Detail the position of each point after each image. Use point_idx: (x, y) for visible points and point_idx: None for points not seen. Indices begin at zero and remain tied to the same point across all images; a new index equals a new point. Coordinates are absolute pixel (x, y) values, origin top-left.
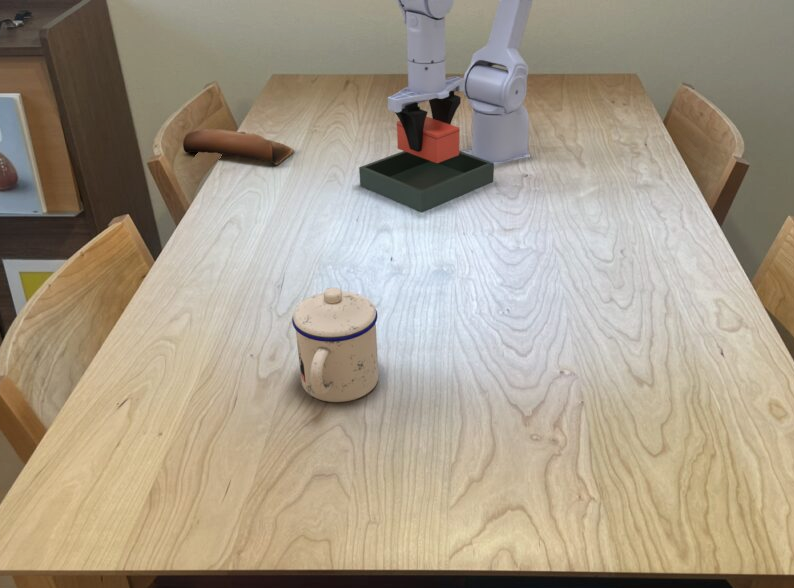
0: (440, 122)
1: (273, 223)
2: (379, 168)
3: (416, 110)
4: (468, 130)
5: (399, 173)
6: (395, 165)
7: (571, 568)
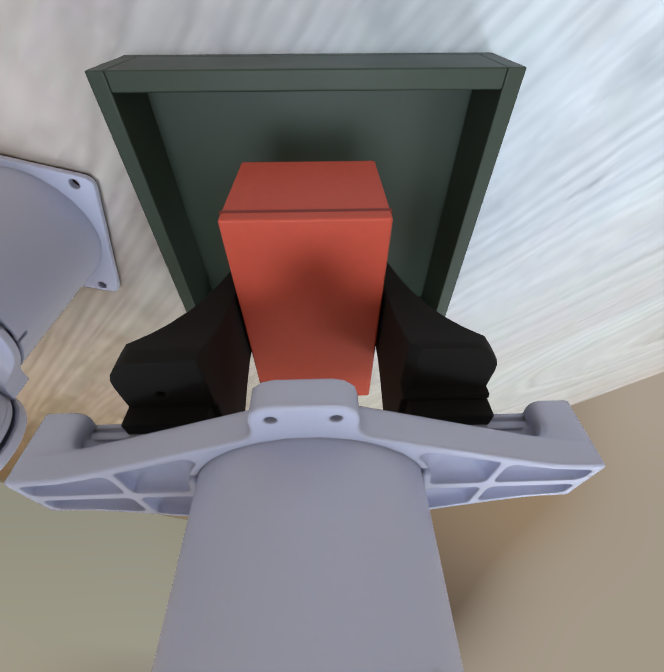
0: (255, 316)
1: (656, 291)
2: None
3: (442, 381)
4: (47, 357)
5: None
6: None
7: None
